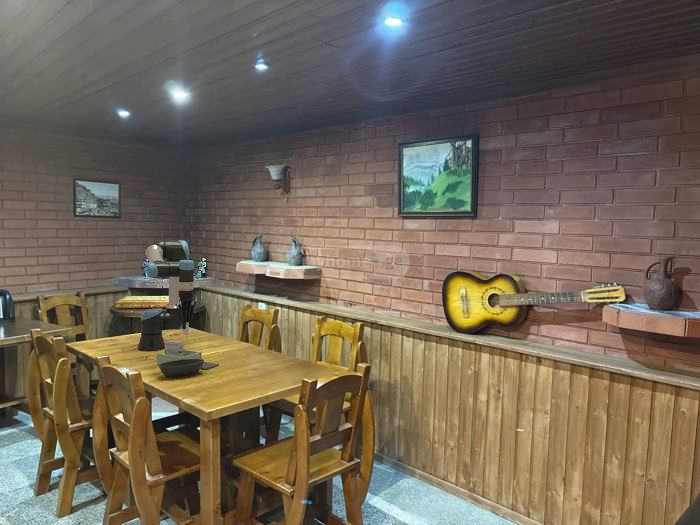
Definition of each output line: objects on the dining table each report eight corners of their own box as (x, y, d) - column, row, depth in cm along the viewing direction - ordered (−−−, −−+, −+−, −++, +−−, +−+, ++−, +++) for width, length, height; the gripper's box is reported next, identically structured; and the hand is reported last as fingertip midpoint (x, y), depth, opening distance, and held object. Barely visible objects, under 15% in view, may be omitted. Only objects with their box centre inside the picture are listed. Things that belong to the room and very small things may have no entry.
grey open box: (156, 365, 259) (156, 353, 259) (176, 359, 273) (176, 348, 272) (181, 369, 253) (182, 357, 252) (201, 363, 266) (201, 352, 266)
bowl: (154, 375, 241) (154, 363, 241) (199, 369, 254) (199, 357, 254) (162, 381, 231) (162, 368, 231) (208, 375, 245) (208, 362, 244)
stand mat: (190, 367, 257) (190, 365, 257) (203, 363, 266) (203, 361, 266) (206, 370, 253) (206, 368, 253) (218, 365, 262) (218, 364, 262)
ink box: (183, 362, 266) (184, 340, 265) (179, 365, 261) (180, 342, 261) (168, 361, 267) (168, 340, 266) (164, 364, 262) (164, 342, 261)
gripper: (182, 291, 251) (182, 337, 253) (200, 289, 263) (199, 333, 265) (171, 290, 254) (170, 336, 256) (189, 288, 266) (188, 332, 268)
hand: (185, 334), depth 260 cm, fingers closed
